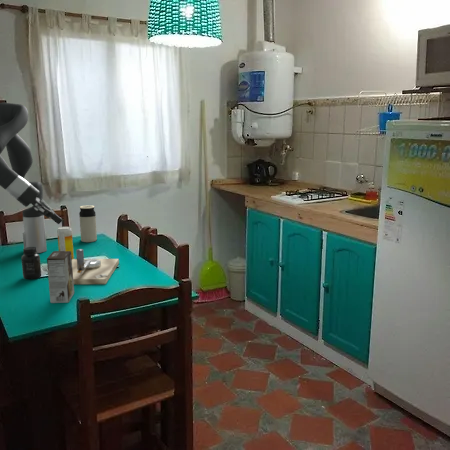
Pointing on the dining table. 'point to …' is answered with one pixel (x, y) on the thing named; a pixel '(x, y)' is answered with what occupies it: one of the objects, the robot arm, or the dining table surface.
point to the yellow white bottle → (65, 239)
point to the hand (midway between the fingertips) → (60, 222)
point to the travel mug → (88, 223)
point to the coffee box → (60, 276)
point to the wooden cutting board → (95, 272)
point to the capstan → (85, 262)
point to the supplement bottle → (31, 263)
